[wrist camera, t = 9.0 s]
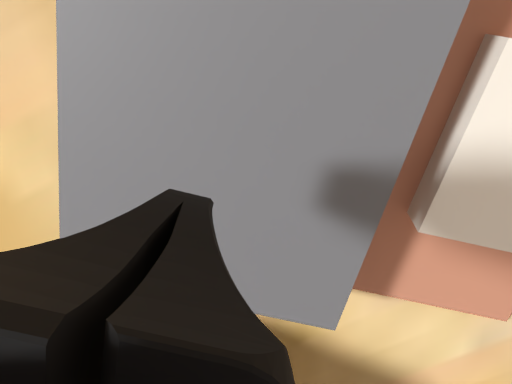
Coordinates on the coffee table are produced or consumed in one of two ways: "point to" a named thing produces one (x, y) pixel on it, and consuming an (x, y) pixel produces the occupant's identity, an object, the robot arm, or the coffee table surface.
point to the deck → (250, 126)
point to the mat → (395, 214)
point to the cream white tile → (473, 158)
